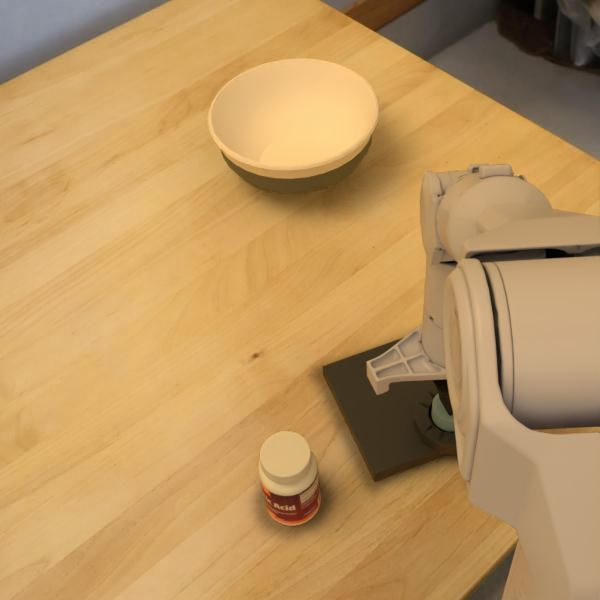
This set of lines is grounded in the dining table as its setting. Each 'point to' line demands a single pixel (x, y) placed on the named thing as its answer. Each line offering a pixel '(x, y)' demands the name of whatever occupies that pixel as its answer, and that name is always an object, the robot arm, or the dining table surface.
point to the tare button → (441, 416)
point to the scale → (387, 416)
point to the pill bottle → (289, 478)
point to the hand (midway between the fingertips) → (451, 404)
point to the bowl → (294, 124)
